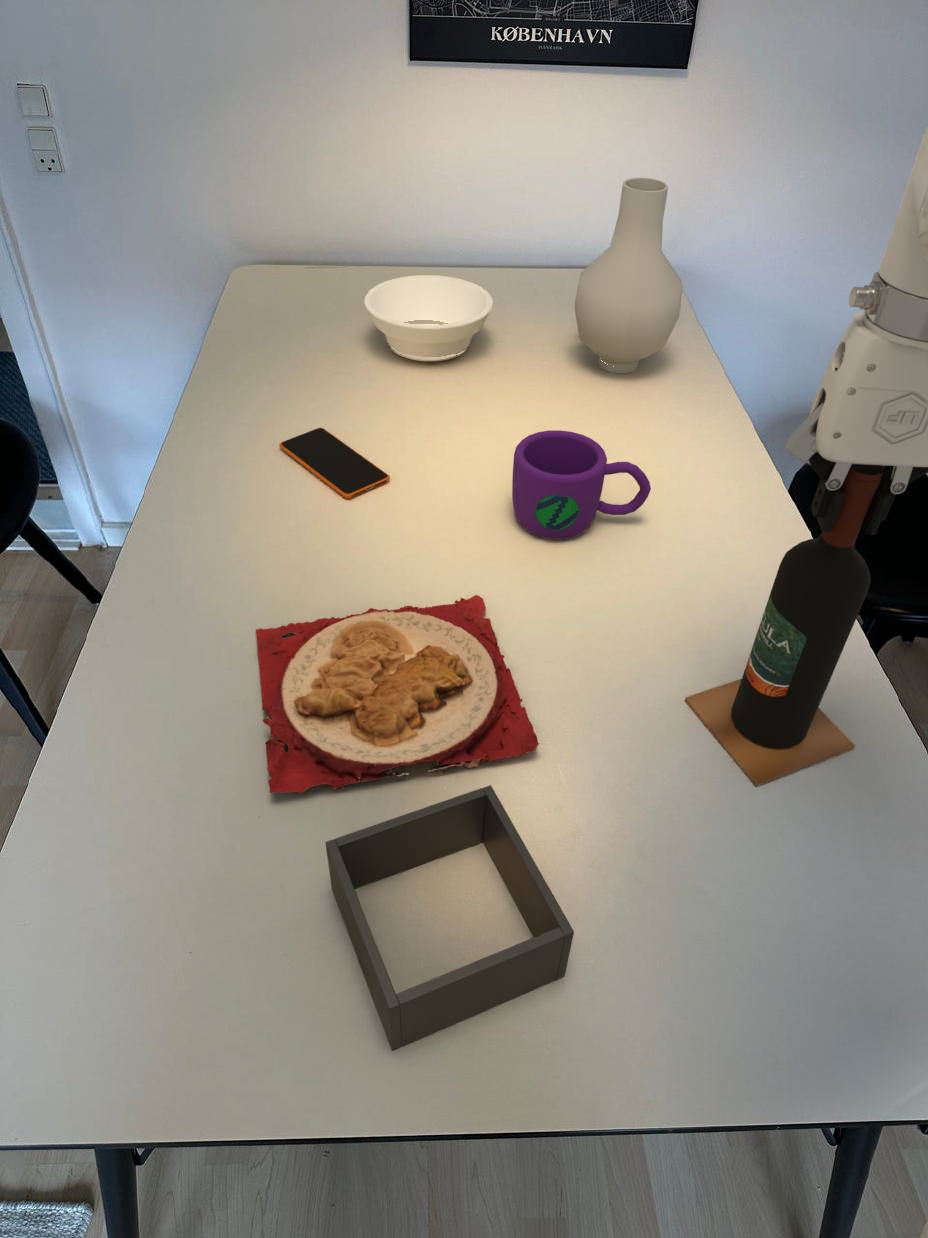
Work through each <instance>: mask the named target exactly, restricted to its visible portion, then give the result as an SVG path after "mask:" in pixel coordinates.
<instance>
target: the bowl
mask: <svg viewBox="0 0 928 1238" xmlns="http://www.w3.org/2000/svg"><path fill="white" fill-rule="evenodd" d="M493 300H494V299H493V298H492V295H491V294H490V293H489V292H488V291H487V290H486V289H485V288H484V287H481V286H480V285H478V284H476V283H474V282H471V281H469V280H465V279H463V278H462V279H461V278H458V277H452V276H447V275H438V274H437V275H436V274H420V275H419V274H418V275H408V276H400V277H397V278H392V279H388V280H386V281H382V282H380V283H379V284H376V285H375V286H373V287H372V288H370V289H369V290H368V291H367V293H366V295H365V297H364V300H363V302H364V303H363V304H364V306H365V309H366V311H367V313H368V315H369V317H370V319H371V321H372V322H373V325H374V326H375V327H376V328H377V330H378V331H380V332H382V334H384V336H385V339H386V342H387V344H388V343H389V344H390V346H391V347H393V348H394V349H395V350H397V351H399V352H401V353H403V354H410V355H415V356H421V357H441V356H447V355H451V354H458V353H460V352H462V351H464V350H465V349H466V348H467V347H468V346H470V344H471V341H472V339H473V336H474V335H475V334H476V333H479V331H480V330H481V329H482V328H483V327H484V325H485V323H486V321H487V319H488V317H489V315H490V313H491V312H492V309H493V306H494V301H493ZM414 320H433V321H440V322H444V323H448V324H443V325H439V324H409V323H404V322H408V321H414ZM389 344H388V345H389ZM468 349H469V347H468V348H467V349H466V350H465V351H464V352H463V353H461V354H459V355H457V356H455V357H451V358H447V359H441V360H418V359H413V358H408V357H405V356H402V355H400V354H398V353H396V352H395V351H393V350H392V349H391V348H390V350H391V351H392V352H393V353H395V354H396V355H397V356H400V357H402V358H406V359H409V360H413V361H420V362H441V361H447V360H450V359H454V358H456V357H459V356H461V355H462V354H464V353H465V352H466V351H468Z"/></svg>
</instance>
